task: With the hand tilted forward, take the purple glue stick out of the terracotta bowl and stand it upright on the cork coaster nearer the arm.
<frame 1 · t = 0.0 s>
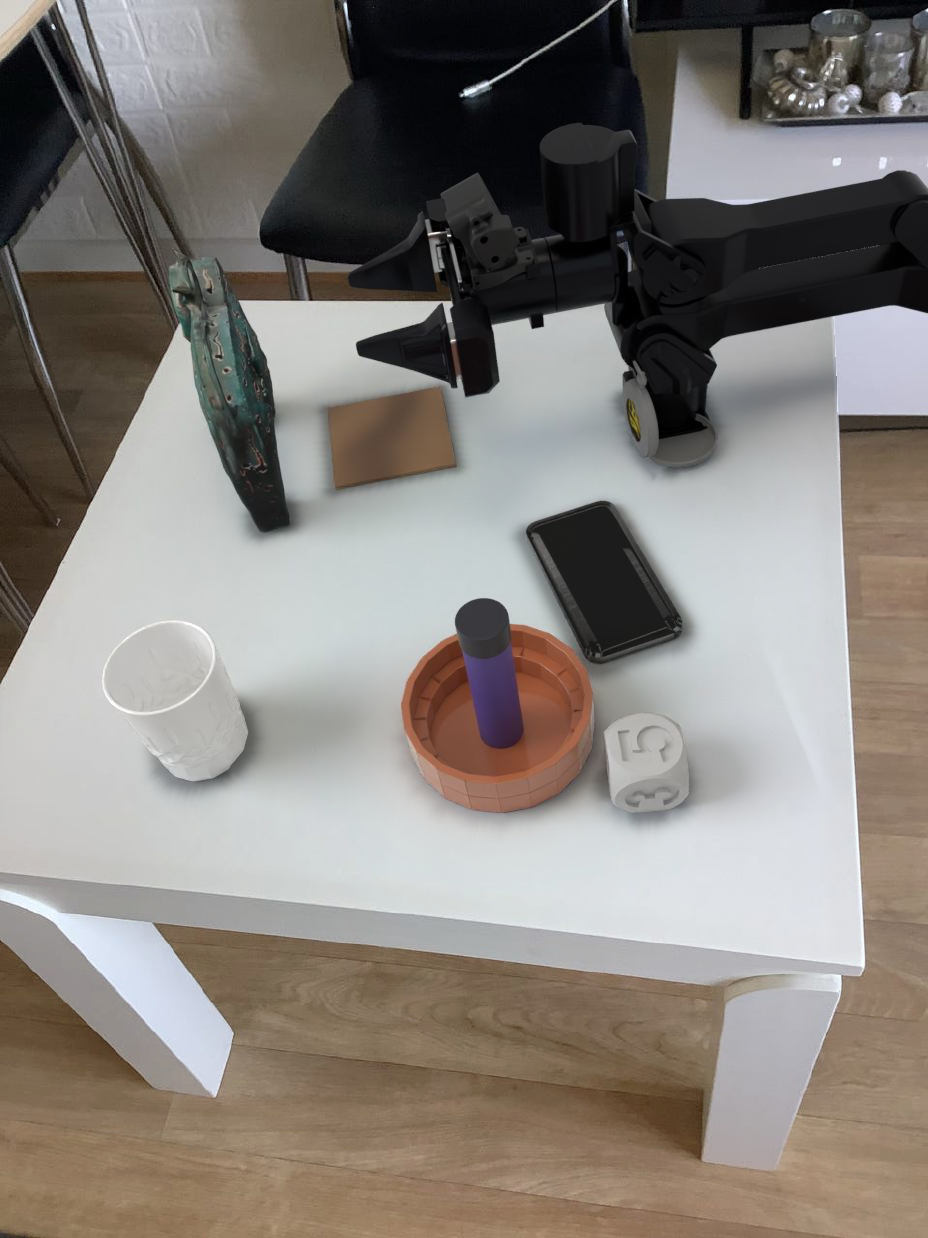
hand: (352, 313, 82), 17 cm above the table, tool horizontal, fingers open, 9 cm apart
green weathered sculpture: (263, 463, 98), on the table
phone: (601, 584, 84), on the table
die: (644, 783, 72), on the table
bowl: (502, 733, 76), on the table
white cup: (206, 744, 79), on the table
glue stick: (501, 729, 76), resting on bowl
coaster: (390, 437, 98), on the table
pocket watch: (664, 448, 92), on the table, touching arm
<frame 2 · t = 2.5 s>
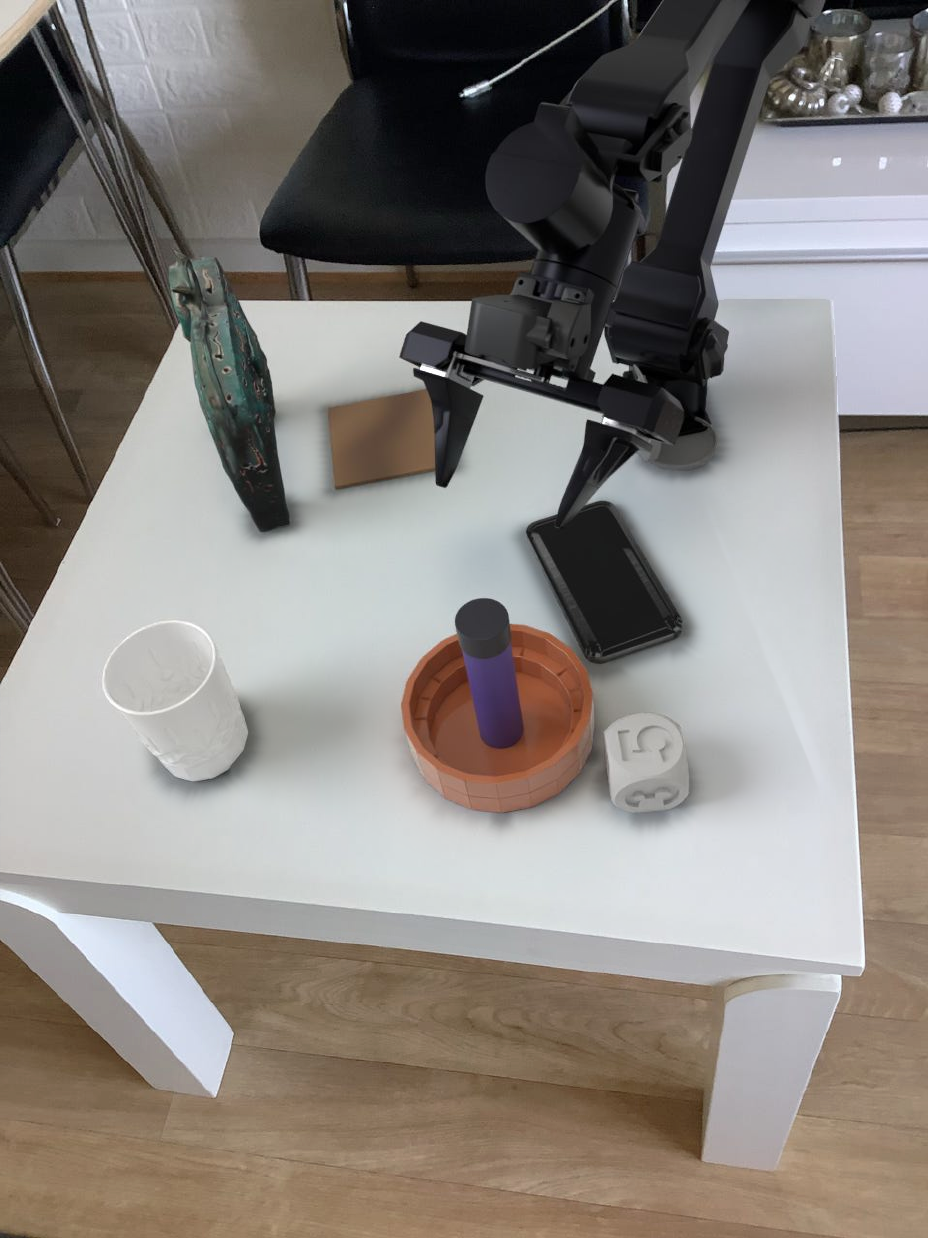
hand: (498, 506, 70), 14 cm above the table, tool tilted 50°, fingers open, 9 cm apart
nothing on the table moved.
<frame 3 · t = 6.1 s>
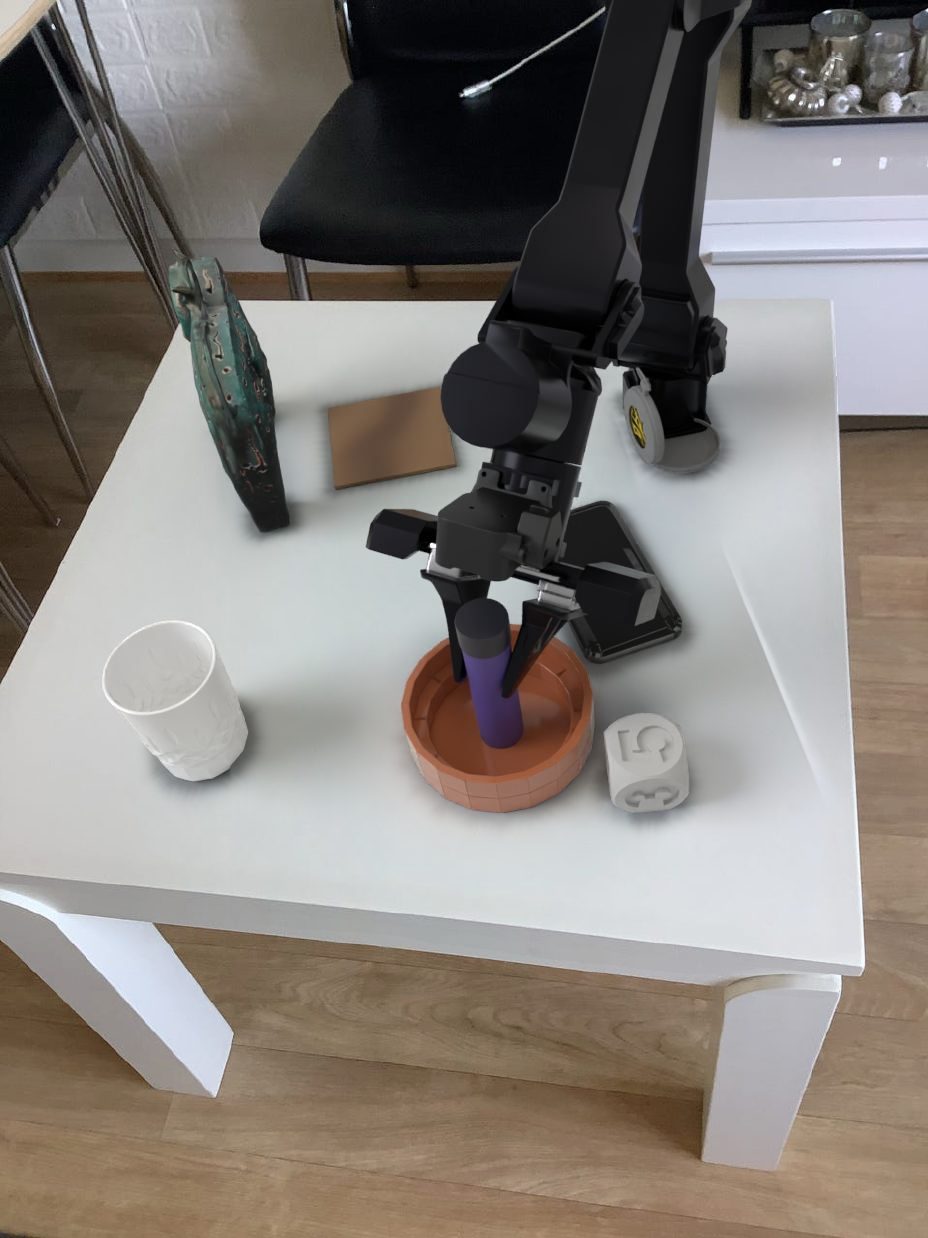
hand: (482, 689, 70), 8 cm above the table, tool tilted 45°, fingers closed on glue stick, 3 cm apart
glue stick: (501, 729, 76), point 1 cm above the table, touching bowl, gripper
everything else where it was.
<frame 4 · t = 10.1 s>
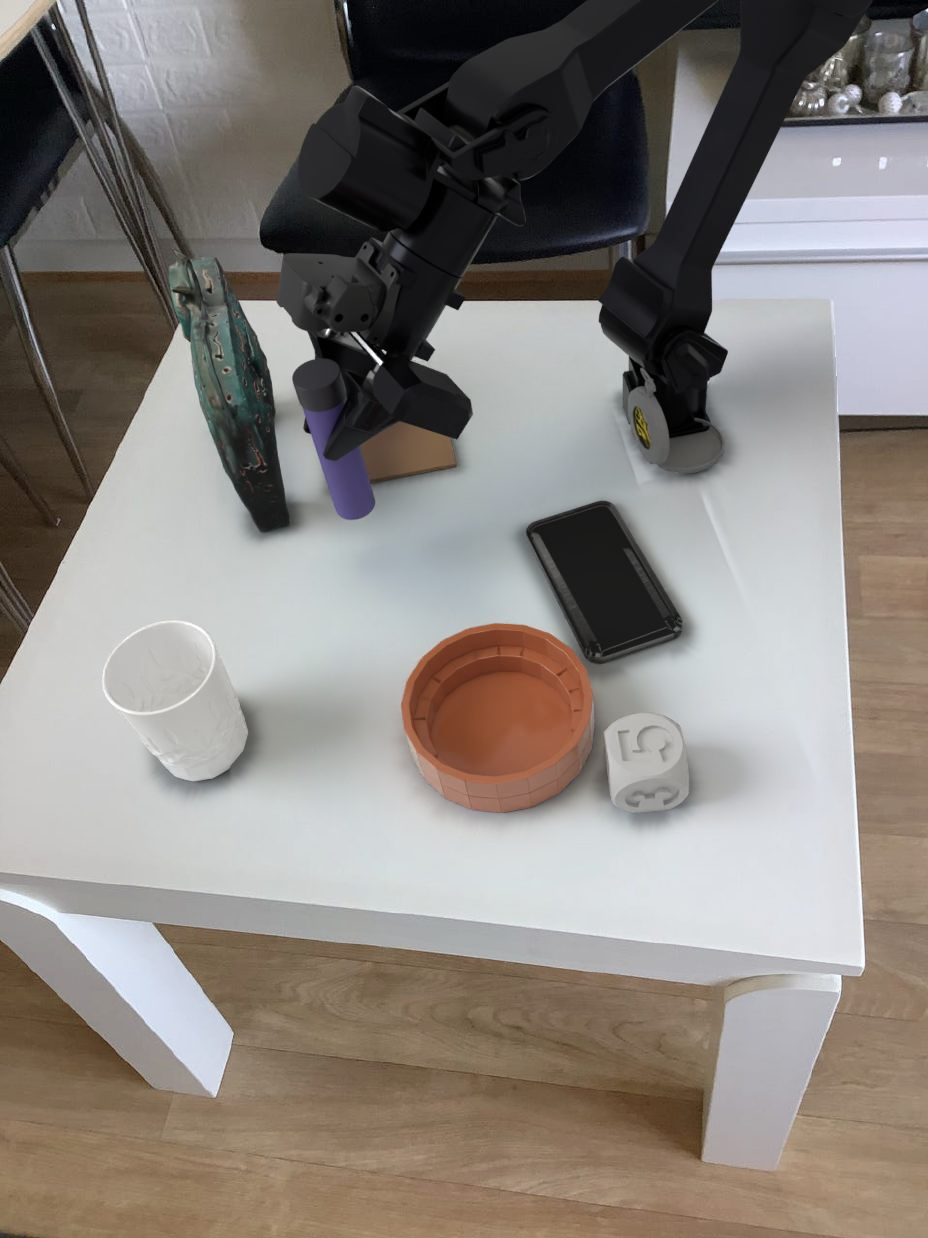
hand: (318, 445, 77), 14 cm above the table, tool tilted 45°, fingers closed on glue stick, 3 cm apart
glue stick: (355, 505, 83), point 7 cm above the table, touching gripper
everything else where it was.
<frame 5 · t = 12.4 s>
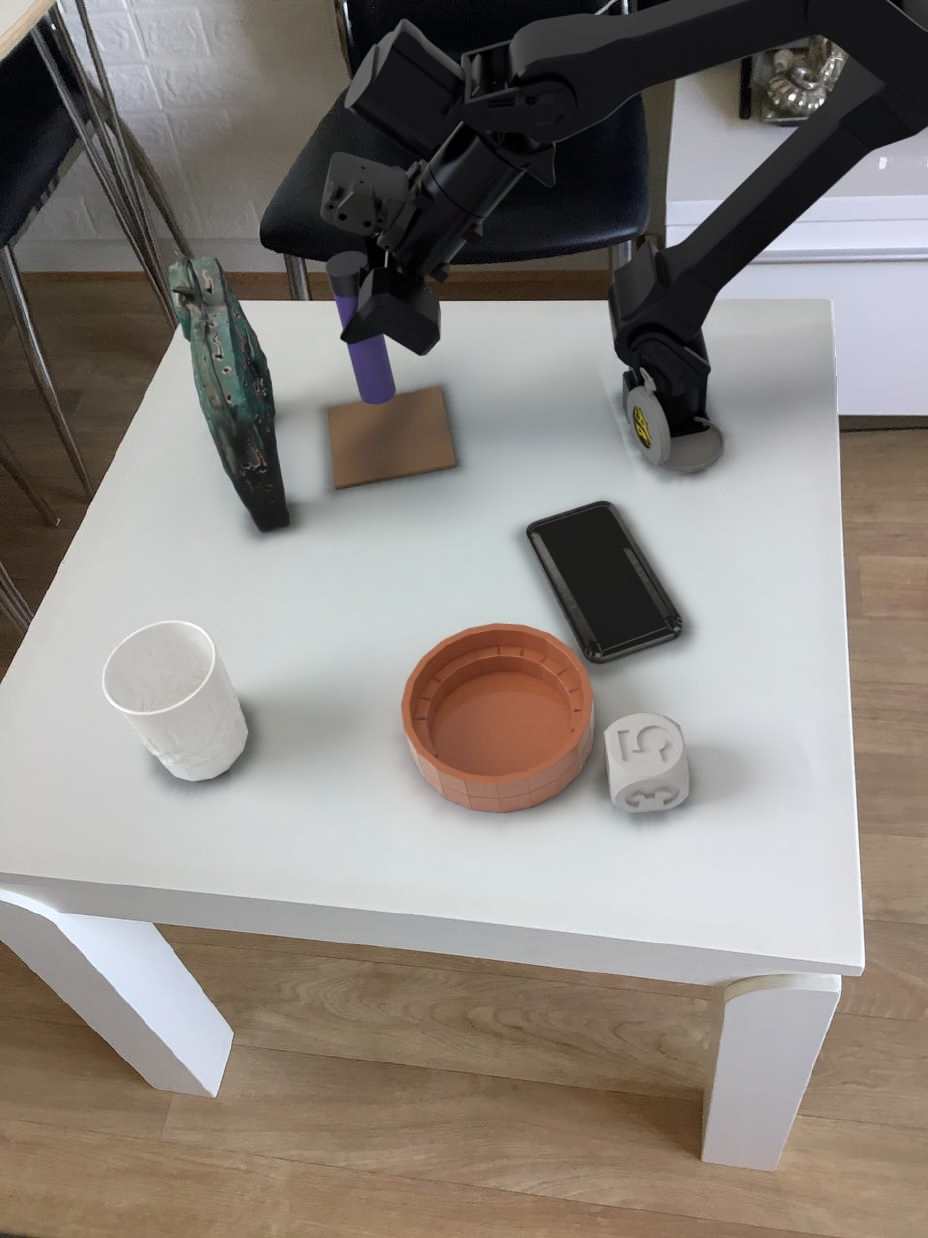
hand: (346, 327, 87), 13 cm above the table, tool tilted 45°, fingers closed on glue stick, 3 cm apart
glue stick: (378, 392, 93), point 6 cm above the table, touching gripper
everything else where it was.
when the fingers open (7 cm above the table, at t = 14.2 s): glue stick stays where it is, resting on coaster.
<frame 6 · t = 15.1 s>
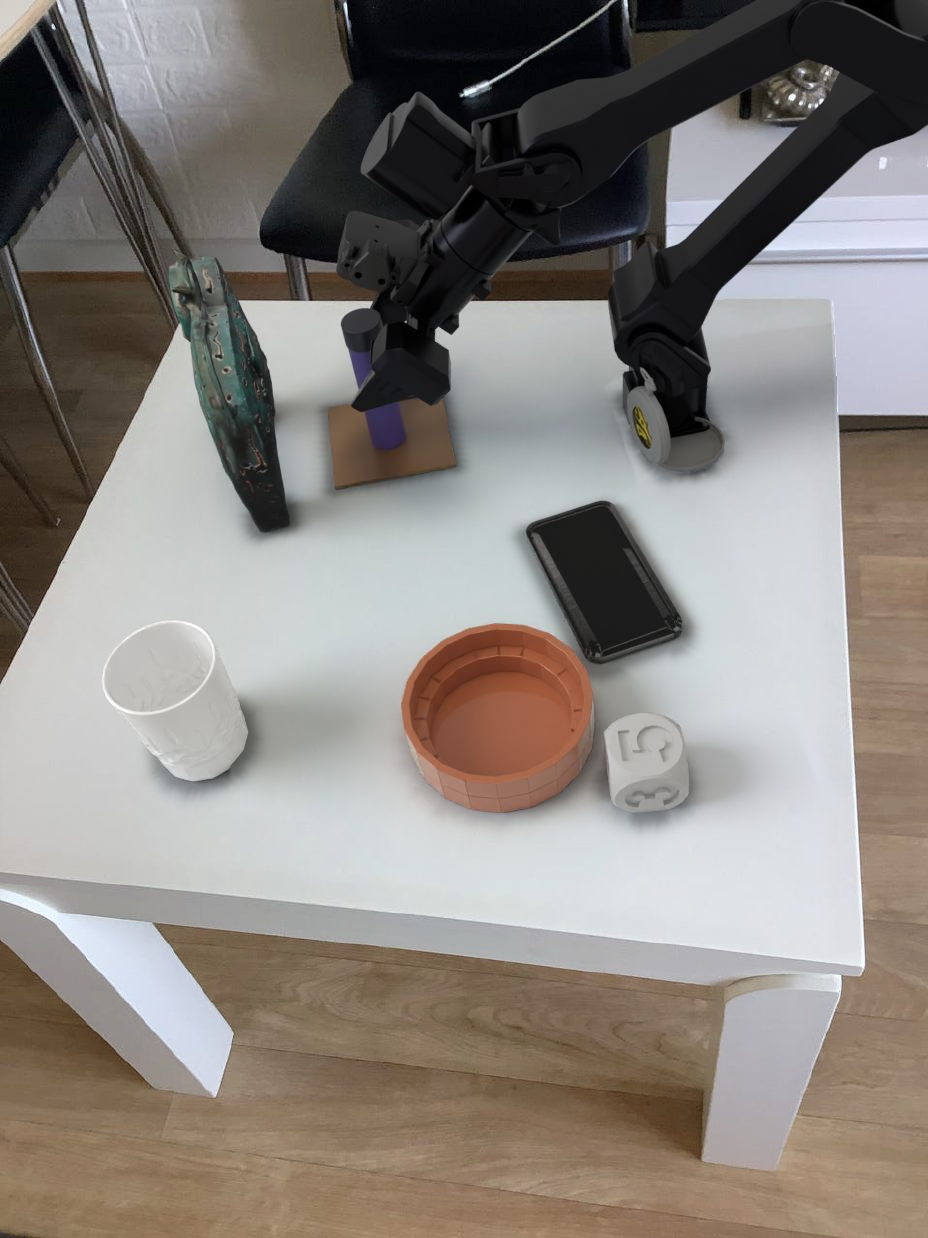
hand: (359, 373, 91), 8 cm above the table, tool tilted 45°, fingers open, 9 cm apart
glue stick: (388, 438, 97), resting on coaster
everything else where it was.
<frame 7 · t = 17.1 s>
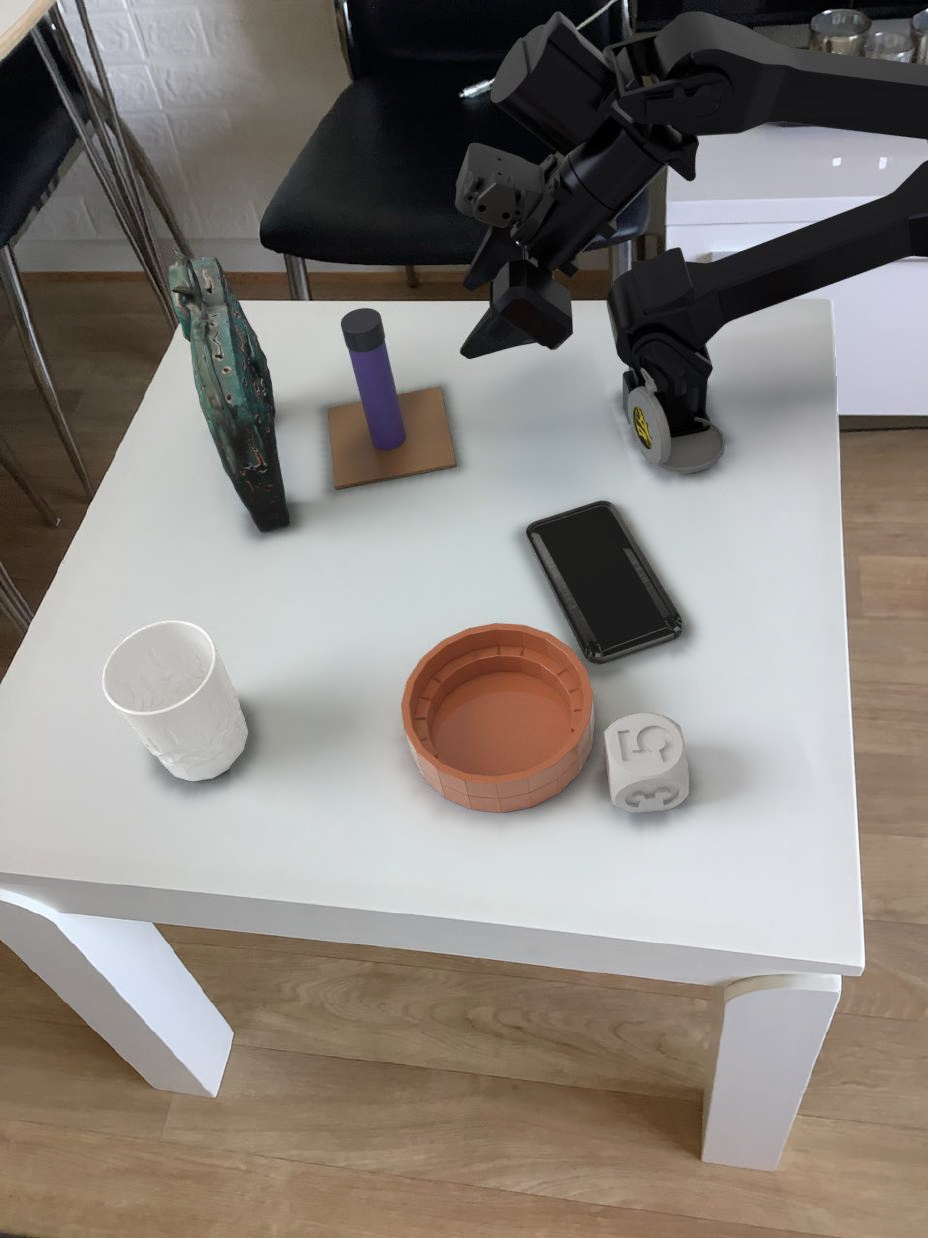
hand: (465, 320, 87), 12 cm above the table, tool tilted 45°, fingers open, 9 cm apart
nothing on the table moved.
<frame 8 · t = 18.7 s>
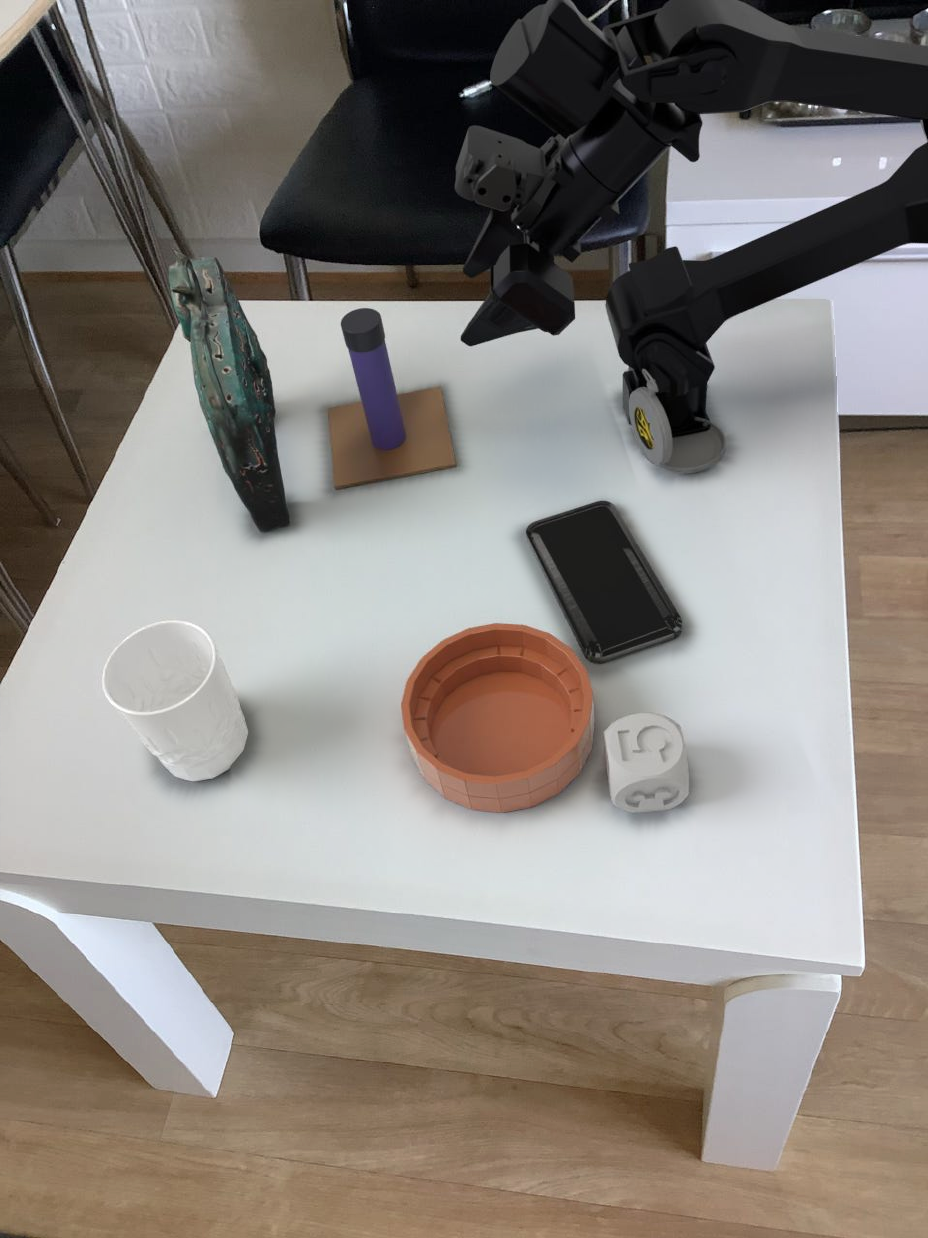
hand: (465, 307, 86), 14 cm above the table, tool tilted 45°, fingers open, 9 cm apart
nothing on the table moved.
at the end: glue stick inside the target area on the coaster (0.5 cm from its centre), point 0.4 cm above the coaster's base; glue stick tilted 0°; glue stick touching coaster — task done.
